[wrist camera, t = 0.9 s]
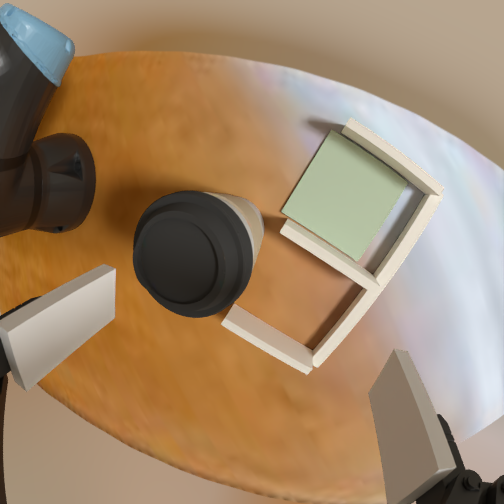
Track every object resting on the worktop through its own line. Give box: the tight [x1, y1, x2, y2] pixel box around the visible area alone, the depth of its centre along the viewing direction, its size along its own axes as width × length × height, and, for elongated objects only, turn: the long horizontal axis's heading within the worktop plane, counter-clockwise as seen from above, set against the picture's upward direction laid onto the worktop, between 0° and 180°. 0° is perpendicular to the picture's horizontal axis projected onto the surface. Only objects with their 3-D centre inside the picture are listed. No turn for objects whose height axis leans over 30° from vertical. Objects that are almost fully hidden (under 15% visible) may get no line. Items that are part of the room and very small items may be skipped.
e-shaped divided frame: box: [221, 117, 444, 375], centre depth 28 cm, size 13×25×4 cm, turn 149°
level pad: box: [281, 130, 408, 262], centre depth 28 cm, size 10×10×1 cm
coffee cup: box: [133, 191, 264, 318], centre depth 25 cm, size 9×9×15 cm
